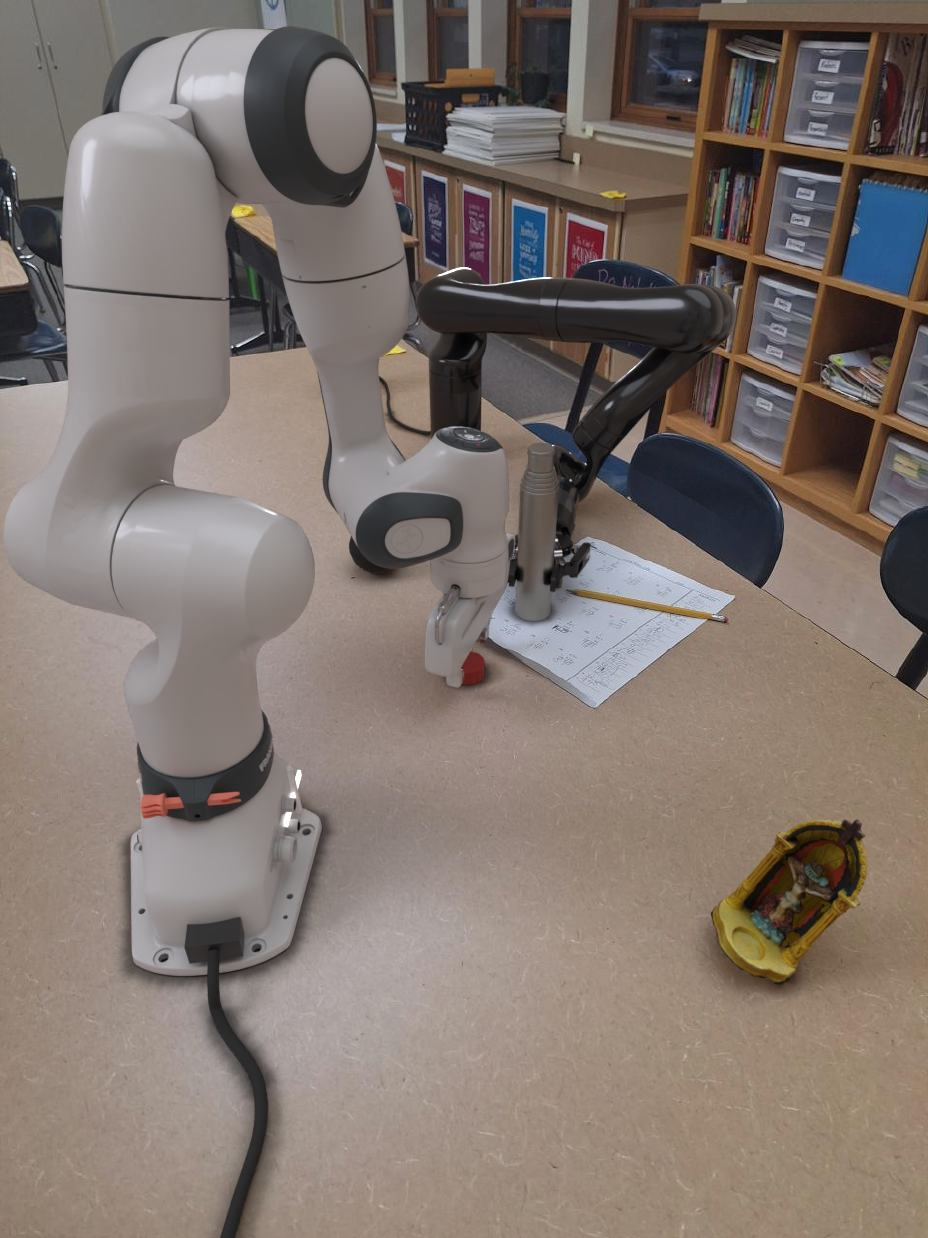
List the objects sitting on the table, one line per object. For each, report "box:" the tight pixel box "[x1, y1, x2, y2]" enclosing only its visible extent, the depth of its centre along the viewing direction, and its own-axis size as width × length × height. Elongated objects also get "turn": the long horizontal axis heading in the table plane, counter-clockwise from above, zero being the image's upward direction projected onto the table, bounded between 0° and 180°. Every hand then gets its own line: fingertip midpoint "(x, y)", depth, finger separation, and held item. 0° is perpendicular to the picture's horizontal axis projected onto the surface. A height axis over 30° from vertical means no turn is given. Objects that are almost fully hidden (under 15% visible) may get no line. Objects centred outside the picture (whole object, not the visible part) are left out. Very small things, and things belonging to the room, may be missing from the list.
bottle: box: [514, 442, 559, 622], centre depth 113 cm, size 5×5×24 cm
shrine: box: [710, 818, 868, 986], centre depth 72 cm, size 12×8×15 cm
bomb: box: [348, 535, 391, 574], centre depth 125 cm, size 8×8×12 cm
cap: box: [461, 650, 486, 686], centre depth 108 cm, size 4×4×2 cm
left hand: (468, 660), depth 107 cm, fingers open, 8 cm apart
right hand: (532, 583), depth 114 cm, fingers closed on bottle, 5 cm apart
